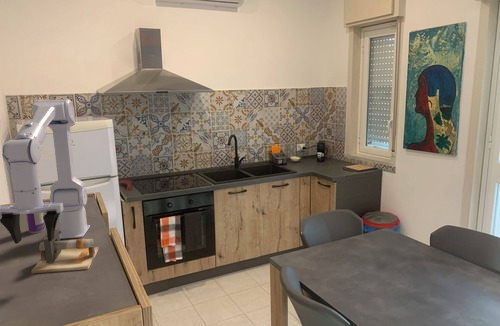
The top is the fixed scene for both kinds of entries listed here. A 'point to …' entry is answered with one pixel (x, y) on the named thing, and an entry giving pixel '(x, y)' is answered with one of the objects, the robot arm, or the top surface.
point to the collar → (51, 248)
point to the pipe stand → (68, 256)
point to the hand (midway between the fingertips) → (34, 240)
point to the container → (35, 222)
